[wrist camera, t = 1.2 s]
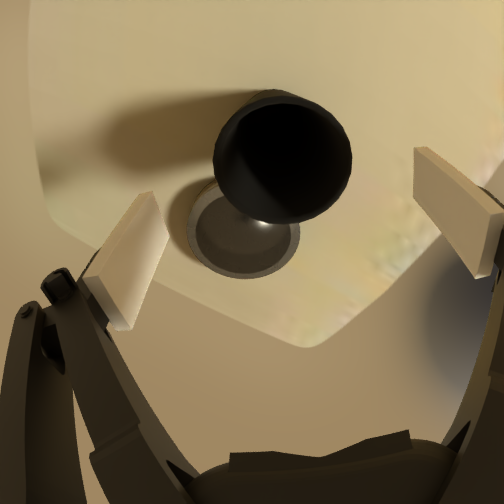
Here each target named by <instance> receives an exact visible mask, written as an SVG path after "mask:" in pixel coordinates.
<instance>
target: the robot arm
mask: <svg viewBox="0 0 504 504" xmlns="http://www.w3.org/2000/svg"><path fill="white" fill-rule="evenodd" d="M413 198H414V199H415V200H416V201H417V203H418V204H419V205H420V206H421V207H422V209H423V210H424V211H425V212H426V213H427V215H428V216H429V217H430V218H431V220H432V221H433V222H434V223H435V225H436V226H437V227H438V228H439V230H440V231H441V232H442V234H443V235H444V236H445V237H446V239H447V240H448V241H449V243H450V244H451V245H452V247H453V248H454V249H455V251H456V252H457V254H458V255H459V256H460V258H461V259H462V261H463V262H464V263H465V265H466V266H467V268H468V269H469V271H470V272H471V273H472V275H473V276H474V278H475V279H477V278H481V277H485V276H489V275H490V274H491V270H492V267H493V264H494V263H495V264H496V265H497V267H498V268H499V270H498V273H497V276H496V279H495V282H494V285H493V288H492V292H494V293H493V298H492V303H491V307H490V312H489V316H488V320H487V325H486V328H485V332H484V336H483V340H482V343H481V347H480V350H479V354H478V357H477V360H476V363H475V366H474V369H473V372H472V375H471V378H470V381H469V384H468V387H467V389H466V392H465V395H464V397H463V400H462V402H461V405H460V407H459V410H458V412H457V415H456V417H455V419H454V422H453V424H452V426H451V428H450V429H449V431H448V433H447V434H446V436H445V438H444V439H443V441H442V443H441V444H439V443H436V442H432V441H428V440H420V439H410V434H409V430H404V431H400V432H396V433H392V434H388V435H383V436H379V437H374V438H370V439H365V440H363V441H361V442H359V443H356V444H354V445H352V446H349V447H347V448H344V449H342V450H339V451H337V452H335V453H332V454H329V455H327V456H323V457H311V456H302V455H295V454H288V453H281V452H275V451H268V452H243V453H230V459H229V463H225V464H222V465H219V466H216V467H214V468H212V469H209V470H208V471H205V472H204V473H202V474H199V473H198V472H197V470H196V469H194V467H193V466H192V465H191V464H190V463H189V462H188V461H187V460H186V459H185V457H184V456H183V455H182V453H181V452H180V451H179V449H178V448H177V446H176V445H175V443H174V442H173V440H172V439H171V438H170V436H169V435H168V433H167V432H166V430H165V429H164V427H163V426H162V424H161V423H160V421H159V419H158V418H157V416H156V415H155V413H154V412H153V410H152V408H151V407H150V405H149V404H148V402H147V400H146V399H145V397H144V395H143V394H142V392H141V390H140V388H139V387H138V385H137V383H136V382H135V380H134V378H133V376H132V375H131V373H130V371H129V369H128V367H127V365H126V364H125V362H124V360H123V358H122V356H121V354H120V352H119V351H118V348H117V346H116V345H115V343H114V341H113V339H112V337H111V335H110V333H109V332H108V330H107V329H106V327H107V324H108V322H109V321H110V323H111V324H112V325H113V327H114V328H115V330H116V331H123V330H132V329H133V326H134V323H135V320H136V318H137V315H138V312H139V310H140V307H141V305H142V302H143V300H144V297H145V294H146V292H147V289H148V287H149V284H150V282H151V279H152V277H153V275H154V272H155V270H156V267H157V265H158V262H159V260H160V258H161V255H162V253H163V251H164V248H165V246H166V244H167V241H168V239H169V237H170V236H169V233H168V231H167V228H166V226H165V223H164V220H163V218H162V215H161V213H160V210H159V207H158V205H157V202H156V200H155V197H154V194H153V192H152V191H150V192H146V193H142V194H139V195H138V197H137V198H136V199H135V201H134V202H133V203H132V205H131V206H130V207H129V209H128V210H127V211H126V213H125V214H124V216H123V217H122V218H121V220H120V221H119V223H118V224H117V225H116V227H115V228H114V230H113V231H112V233H111V234H110V236H109V237H108V239H107V240H106V241H105V243H104V244H103V246H102V247H101V248H100V249H99V250H98V251H97V252H96V253H95V254H94V255H93V257H92V258H91V260H90V263H88V265H87V266H86V269H84V271H83V272H82V274H81V275H80V277H79V279H78V280H77V282H75V280H74V279H73V277H72V276H71V274H70V272H69V270H68V269H67V268H60V269H57V270H55V271H53V272H52V273H51V274H49V275H48V276H47V277H46V278H45V279H44V280H43V282H42V284H41V290H42V291H43V293H44V294H45V295H46V297H47V298H48V300H49V301H50V303H51V304H52V305H51V306H49V307H46V308H44V309H42V308H41V306H40V305H39V304H38V302H37V301H31V302H28V303H27V304H25V305H23V307H21V308H20V310H19V311H18V313H17V314H16V317H15V320H14V324H13V329H12V333H11V337H10V342H9V346H8V351H7V356H6V361H5V367H4V373H3V379H2V386H1V394H0V504H87V500H86V496H85V490H84V485H83V480H82V474H81V468H80V462H79V455H78V447H77V439H76V430H75V419H74V406H73V390H74V394H75V397H76V399H77V403H78V405H79V408H80V411H81V414H82V417H83V419H84V422H85V425H86V427H87V430H88V432H89V435H90V437H91V439H92V442H93V444H94V448H95V451H93V452H91V453H90V456H89V459H90V462H91V465H92V467H93V470H94V472H95V474H96V476H97V479H98V481H99V483H100V485H101V487H102V489H103V491H104V494H105V496H106V498H107V499H108V501H109V503H110V504H504V205H503V204H502V203H500V201H499V200H498V199H497V198H494V196H493V195H492V194H491V193H490V192H488V191H487V190H485V189H483V188H481V187H479V186H477V185H475V184H474V183H473V182H472V181H471V180H469V179H468V178H467V177H466V176H465V175H463V174H462V173H461V172H460V171H458V170H457V169H456V168H455V167H453V166H452V165H451V164H449V163H448V162H447V161H445V160H444V159H443V158H441V157H440V156H439V155H437V154H436V153H435V152H433V151H432V150H431V149H429V148H428V147H417V148H414V184H413Z"/></svg>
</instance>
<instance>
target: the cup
mask: <svg viewBox="0 0 504 504" xmlns="http://www.w3.org/2000/svg"><path fill="white" fill-rule="evenodd" d="M213 167H214V175H215V178H216V180H217V183H218V186H219V188H220V190H221V192H222V193H223V194H224V196H225V197H226V199H227V200H228V202H229V203H231V204H232V205H233V206H234V207H235V208H236V209H237V210H239V211H240V212H241V213H243V214H245V215H247V216H249V217H250V218H252V219H254V220H258V221H261V222H265V223H268V224H279V225H287V224H295V223H301V222H303V221H306V220H309V219H312V218H315V217H316V216H318V215H319V214H321V213H323V212H324V211H326V210H327V209H329V208H330V207H331V206H332V205H333V204H334V203H335V202H336V201H337V200H338V199H339V197H340V196H341V194H342V192H343V191H344V189H345V188H346V186H347V183H348V180H349V177H350V174H351V168H352V152H351V147H350V141H349V139H348V137H347V135H346V133H345V131H344V129H343V127H342V125H341V124H340V123H339V122H338V121H337V120H336V118H335V117H334V116H333V115H332V114H331V113H330V112H328V111H327V110H325V109H324V108H323V107H321V106H320V105H318V104H316V103H314V102H312V101H309V100H307V99H304V98H302V97H299V96H297V95H294V94H291V93H289V92H286V91H283V90H276V89H272V90H266V91H263V92H261V93H259V94H257V95H256V96H254V97H253V98H252V99H251V100H249V101H248V102H247V103H246V104H245V105H244V106H243V107H241V108H240V109H239V110H238V111H237V112H236V113H235V114H234V115H233V116H232V117H231V118H230V119H229V120H228V122H227V123H226V124H225V125H224V127H223V128H222V130H221V132H220V134H219V136H218V139H217V141H216V143H215V148H214V155H213Z"/></svg>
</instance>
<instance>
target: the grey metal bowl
mask: <svg viewBox="0 0 504 504" xmlns="http://www.w3.org/2000/svg"><path fill="white" fill-rule="evenodd" d="M187 237H188V241H189V245H190V247H191V249H192V251H193V252H194V254H195V256H196V257H197V258H198V259H199V260H200V261H201V262H202V263H203V264H204V265H205V266H206V267H208V268H209V269H211V270H213V271H214V272H216V273H219V274H221V275H224V276H227V277H231V278H237V279H254V278H259V277H263V276H266V275H269V274H271V273H274V272H275V271H277V270H279V269H280V268H282V267H283V266H284V265H285V264H286V263H287V262H288V261H289V260H290V259H291V258H292V257H293V255H294V253H295V252H296V249H297V247H298V244H299V240H300V226H299V223H295V224H287V225H279V224H268V223H265V222H261V221H258V220H254V219H252V218H250V217H249V216H247V215H245V214H243V213H241V212H240V211H239V210H237V209H236V208H235V207H234V206H233V205H232V204H231V203H229V202H228V200H227V199H226V197H225V196H224V194H223V193H222V192H221V190H220V188H219V186H218V183H217V180H214V181H213V182H211V183H210V184H208V185H207V186H206V187H205V188H204V189H203V190H202V191H201V192H200V194H199V195H198V197H197V198H196V200H195V202H194V205H193V208H192V210H191V213H190V215H189V218H188V223H187Z"/></svg>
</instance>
